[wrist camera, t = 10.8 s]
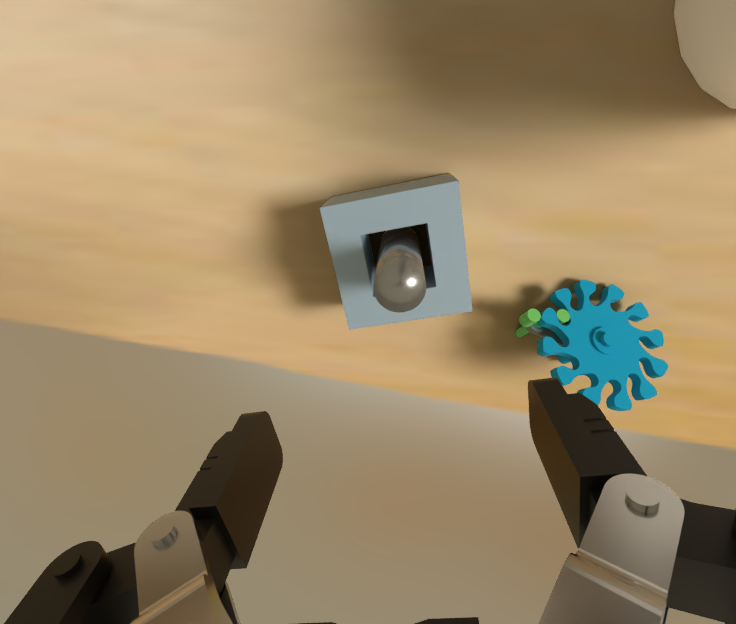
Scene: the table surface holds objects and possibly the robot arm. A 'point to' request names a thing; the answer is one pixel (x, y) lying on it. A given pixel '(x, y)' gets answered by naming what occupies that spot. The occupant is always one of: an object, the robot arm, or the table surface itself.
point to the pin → (399, 271)
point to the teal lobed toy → (597, 343)
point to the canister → (709, 45)
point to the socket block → (391, 211)
